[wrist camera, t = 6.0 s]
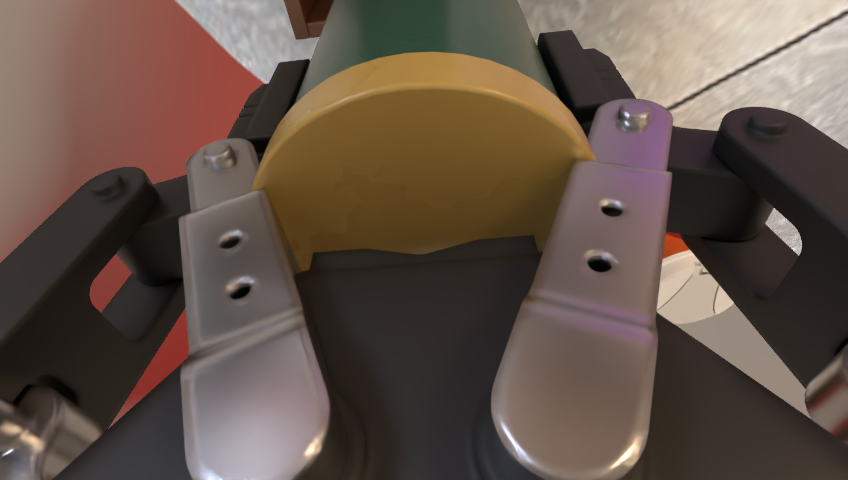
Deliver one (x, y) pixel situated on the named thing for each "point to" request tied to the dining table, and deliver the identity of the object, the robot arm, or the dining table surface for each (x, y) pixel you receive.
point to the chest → (308, 16)
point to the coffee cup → (687, 285)
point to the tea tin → (421, 132)
